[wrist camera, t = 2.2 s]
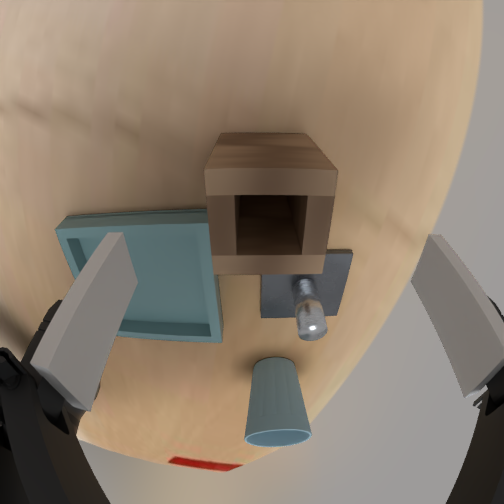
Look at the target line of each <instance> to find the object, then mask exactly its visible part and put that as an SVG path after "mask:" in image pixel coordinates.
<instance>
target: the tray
mask: <svg viewBox="0 0 504 504" xmlns="http://www.w3.org/2000/svg"><path fill="white" fill-rule="evenodd" d="M55 231H56V234H57V237H58V239H59V242H60V245H61V247H62V250H63V252H64V255H65V257H66V260H67V262H68V264H69V267H70V269H71V271H72V274H73V276H74V278H75V280H76V278H77V277H78V275H79V274H80V272H81V271H82V269H83V267H84V266H85V264H86V263H87V261H88V260H89V258H90V257H91V256H92V254H93V253H94V251H95V250H96V248H97V247H98V245H99V244H100V243H101V241H102V240H103V238H104V237H105V236H106V234H107V233H109V232H123V234H124V237H125V241H126V245H127V248H128V252H129V255H130V258H131V262H132V265H133V268H134V271H135V274H136V277H137V281H138V284H137V286H136V288H135V291H134V293H133V295H132V298H131V300H130V302H129V305H128V307H127V310H126V312H125V314H124V317H123V319H122V322H121V324H120V327H119V330H118V332H117V335H116V336H121V337H131V338H142V339H154V340H169V341H187V342H214V343H222V338H223V317H222V309H221V300H220V291H219V281H218V275H214V273H213V264H212V255H211V245H210V235H209V225H208V214H207V209H185V210H158V211H137V212H120V213H104V214H90V215H77V216H67V217H66V218H65V219H64V220H63V221H62V222H61V223H60V224H59V225H58V226H57V228H56V229H55Z"/></svg>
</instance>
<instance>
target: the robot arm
mask: <svg viewBox="0 0 504 504" xmlns="http://www.w3.org/2000/svg"><path fill="white" fill-rule="evenodd" d="M411 283H412V285H413V286H414V288H415V290H416V292H417V294H418V296H419V298H420V299H421V301H422V303H423V305H424V307H425V309H426V311H427V313H428V315H429V317H430V319H431V321H432V323H433V325H434V327H435V329H436V331H437V333H438V336H439V338H440V340H441V342H442V344H443V347H444V349H445V351H446V353H447V356H448V358H449V360H450V363H451V365H452V367H453V370H454V373H455V375H456V378H457V380H458V383H459V385H460V388H461V390H462V393H463V396H464V398H466V397H468V396H471V395H473V394H476V393H477V392H479V391H480V390H481V389H482V388H483V387H484V386H485V385H487V388H488V390H487V391H486V392H484V393H483V394H482V395H481V396H480V397H479V398H478V399H477V400H476V401H474V404H473V406H476V405H477V404H478V403H479V402H480V401H481V400H482V403H481V404H480V405H479V406H478V407H477V408H479V409H480V412H479V416H478V420H477V424H476V427H475V431H474V434H473V437H472V440H471V443H470V446H469V450H468V452H467V455H466V458H465V461H464V463H463V466H462V469H461V471H460V473H459V476H458V478H457V480H456V483H455V485H454V487H453V489H452V492H451V494H450V496H449V498H448V500H447V502H446V504H504V316H503V315H501V312H500V310H499V308H498V307H497V306H496V304H495V303H494V302H493V301H492V300H491V299H490V298H489V297H488V296H487V295H486V293H485V292H484V291H483V289H482V288H481V286H480V285H479V283H478V282H477V281H476V279H475V278H474V276H473V275H472V273H471V272H470V271H469V270H468V268H467V267H466V265H465V264H464V263H463V262H462V260H461V259H460V258H459V256H458V255H457V254H456V252H455V251H454V250H453V249H452V247H451V246H450V245H449V244H448V242H447V241H446V240H445V239H444V238H443V236H442V235H434V234H429V235H428V238H427V241H426V244H425V246H424V249H423V252H422V255H421V257H420V260H419V262H418V265H417V268H416V270H415V272H414V275H413V277H412V280H411ZM137 284H138V281H137V277H136V274H135V271H134V268H133V265H132V262H131V258H130V255H129V252H128V248H127V245H126V241H125V237H124V234H123V232H109V233H107V234H106V236H105V237H104V238H103V240H102V241H101V243H100V244H99V245H98V247H97V248H96V250H95V251H94V253H93V254H92V256H91V257H90V258H89V260H88V261H87V263H86V264H85V266H84V267H83V269H82V271H81V272H80V274H79V275H78V277H77V278H76V280H75V281H74V283H73V285H72V286H71V288H70V289H69V291H68V293H67V294H66V296H65V298H64V299H63V300H58V301H57V302H56V303H55V304H54V305H53V306H52V307H51V308H50V309H49V310H48V312H47V313H46V315H45V317H44V319H43V322H41V324H40V326H39V328H38V331H36V333H35V335H34V337H33V339H32V341H31V343H30V345H29V347H28V349H27V351H26V353H25V355H24V357H23V359H22V361H21V362H19V361H18V359H17V358H16V357H15V356H14V355H13V354H12V352H11V351H10V350H9V349H8V348H4V347H2V348H0V504H110V502H109V500H108V499H107V497H106V495H105V493H104V492H103V490H102V488H101V486H100V485H99V483H98V481H97V479H96V477H95V476H94V473H93V471H92V469H91V467H90V465H89V463H88V461H87V459H86V457H85V455H84V453H83V450H82V448H81V446H80V444H79V441H78V439H77V436H76V434H77V430H78V426H79V422H80V419H81V417H82V416H83V415H84V413H85V412H86V411H91V408H92V405H93V401H94V400H95V399H96V397H97V395H98V392H99V388H100V383H99V382H100V379H101V376H102V373H103V370H104V368H105V365H106V362H107V359H108V356H109V353H110V351H111V348H112V345H113V343H114V340H115V337H116V335H117V332H118V330H119V327H120V324H121V322H122V319H123V317H124V314H125V312H126V310H127V307H128V305H129V302H130V300H131V298H132V295H133V293H134V291H135V288H136V286H137Z"/></svg>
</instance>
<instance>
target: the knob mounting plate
mask: <svg viewBox="0 0 504 504" xmlns="http://www.w3.org/2000/svg"><path fill="white" fill-rule="evenodd" d="M352 257H353V252H352V250H326V255H325V261H324V266H323V272H322V274H276V275H262V284H261V318H289V317H296V321H297V328H298V335H299V337H300V338H301V339H303V340H306V341H314V340H318V339H320V338H322V337H323V336H324V335H325V334H326V333H327V325H326V321H325V317H324V316H336V315H337V313H338V309H339V306H340V302H341V299H342V295H343V292H344V288H345V284H346V281H347V277H348V273H349V269H350V265H351V261H352Z"/></svg>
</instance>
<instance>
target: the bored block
mask: <svg viewBox="0 0 504 504" xmlns="http://www.w3.org/2000/svg"><path fill="white" fill-rule="evenodd" d="M337 175H338V170H337V169H336V167H335V166H334V165H333V164H332V163H331V161H330V160H329V159H328V158H327V157H326V156H325V154H324V153H323V152H322V151H321V150H320V149H319V147H318V146H317V145H316V144H315V143H314V142H313V141H312V140H311V138H310V137H309V136H308V135H307V134H295V133H221V134H220V136H219V139H218V141H217V143H216V145H215V147H214V149H213V151H212V153H211V155H210V157H209V159H208V161H207V163H206V166H205V168H204V178H205V191H206V203H207V214H208V225H209V235H210V245H211V255H212V264H213V273H214V275H276V274H322V272H323V266H324V261H325V255H326V250H327V244H328V238H329V232H330V225H331V219H332V212H333V205H334V198H335V191H336V183H337Z"/></svg>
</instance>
